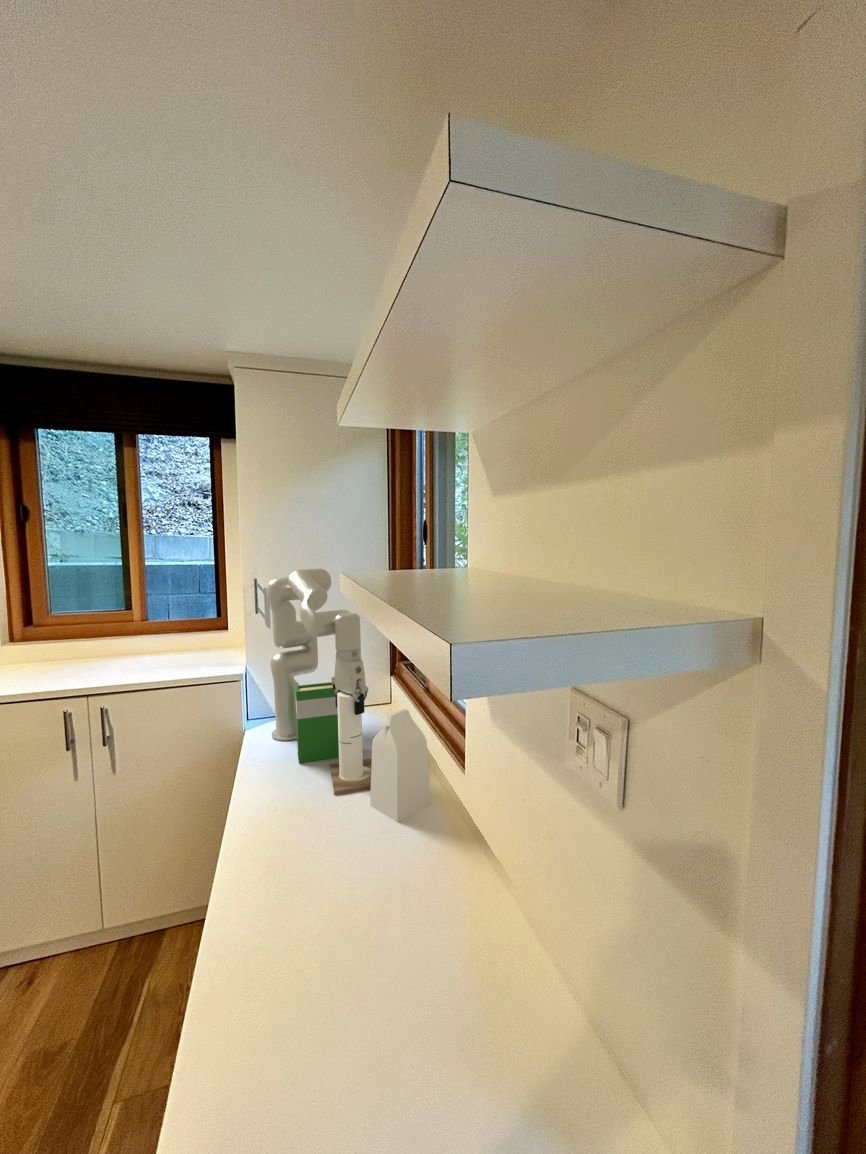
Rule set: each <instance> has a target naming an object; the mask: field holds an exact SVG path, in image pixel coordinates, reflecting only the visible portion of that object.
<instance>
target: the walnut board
mask: <svg viewBox="0 0 866 1154" xmlns="http://www.w3.org/2000/svg"><path fill="white" fill-rule="evenodd" d="M371 765H372V758H365V759H364V758H363V774H362V775H361V776H360V777H357V778H354V779H345V778H342V777H340V773H339V762H336V763H330V764H329V768H330V775H331V782H332V788H333V794H334V796H336V795H337V796H338V795H343V794H348V793H349V794H350V793H351V794H352V793H357V792H365V791H371Z"/></svg>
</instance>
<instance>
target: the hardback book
mask: <svg viewBox="0 0 866 1154" xmlns="http://www.w3.org/2000/svg"><path fill="white" fill-rule="evenodd" d="M334 691H335V690H334V688H333V684H332V681H329V682H320V683H311V684H310V683H309V684H302V685H301V684H299V686H295V693H296V720H297V739H296V741H297V746H296V747H297V758H298V759H297V760H298V765H302V764H307V763H314V762H322V761H327V760H328V761H329V760H335V759H339V739H338V708H337V707H336V701H335V695H336V694H334Z"/></svg>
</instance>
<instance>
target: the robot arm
mask: <svg viewBox="0 0 866 1154" xmlns="http://www.w3.org/2000/svg"><path fill="white" fill-rule="evenodd" d="M331 586H332V577H331V575H330V573H329V572H328V571H327V570H326V569H324V568H302V569H297V570H294V571H293V572H291V573H290V574H289V576H288V577H287V576H286V577H278V578H274V579H271V580H270V581H269V582H268V584H267V586H266V598H267V601H268V603H269V604H268V605H269V607H270V610H271V615H272V617H271V618H272V636H273V642H274V645H275V647H277V648H279V649H290V648H297V647H301V648H300V649H294V650H287V651H286V650H285V651H282V652H281V651H280V652H279V653H276V654H275V655H274V654H273V656H272V658H271V659H270V670H271V675H272V680H273V691H274V692H273V693H274V694H273V695H274V712H275V713H274V716H275V717H274V718H275V729H274V730H273V731H272V732H271V738H272V739H273V740H276V741H287V742H288V741H293V740H297V720H296V693H295V686H299V685H300V683H299V682H298V681H297V680H296V679H295V677H297V676H302V675H306V674H311V673H313V672H314V673H315V671H317V669H318V665H319V649H318V638H319V637H328V636H334V639H335V662H334V676H333V677H331V682H332V684H333V688H334V690H335V691H334V694H336V695H335V701H336V707H337V708H338V705H337V693H339V692H341V691H343V692H346V693H349V694H353V696H354V698H355V700H356V701H355V702H354V707H355V715H359V714H362V715H363V714H364V713H365V700H366V698H367V696H368V693H369V687H368V686H367V684H366V673H365V666H364V661H363V659H362V644H361V643H362V642H361V641H362V639H361V636H362V635H361V616H360V615H359V614H357V613H354V612H350V611H349V610H347V609H336V610H327V611H318V610H320V609H321V608H322V607H324V605H326V603H327V601H328V592H329V590H330V588H331ZM291 601H300V602H301V604H300V606H299V616H300V620H297V610H296V608H295V606H294V605H293V603H292V602H291ZM317 611H318V612H317ZM355 690H358V691H355ZM357 694H360V695H359V697H358V695H357Z"/></svg>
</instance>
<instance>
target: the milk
mask: <svg viewBox="0 0 866 1154" xmlns="http://www.w3.org/2000/svg"><path fill="white" fill-rule="evenodd" d="M416 723H417V722H415V721H414V719H413V717H412V715H411V714H410V710H409V709H407V708H404V709H401V710H397V711H394V712H391V713H388V715H387V719H386V723H385V725H384V727H383V728H382V729H381V730H380V731H379V732H377V733H376V734H375V736H374V737H373V739H372V742H371V743H372V745H371V759H372V765H371V790H370V795H369V796H370V800H369V805H370V807H371V808H373V809H375V810H376V811H378V812H380V814H382V815H385V817H387V818H390V820H393V821H394V822H396V823H399V822H401V821H402V820H405V819H407V818H409V817H410V816H412V815H414V814H416V813H418V812H420V811H422V810H423V809H425V808H428V807H429V806H431V805H432V802H431V801H432V800H431V786H430V771H429V770H430V769H429V757H428V756H429V754H428V742H427V738H426V735H425V734H424V733H423V731H422V730H421V729H420V727H419V726H418V725H417V724H416Z"/></svg>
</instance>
